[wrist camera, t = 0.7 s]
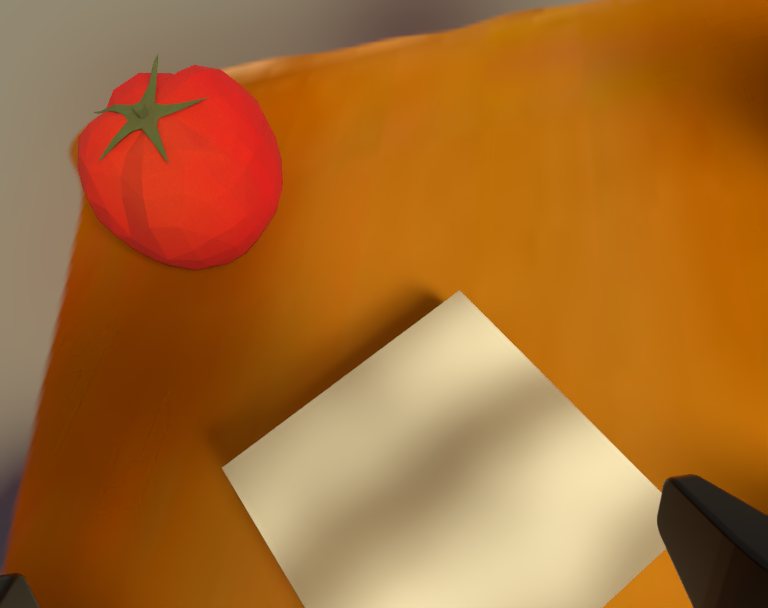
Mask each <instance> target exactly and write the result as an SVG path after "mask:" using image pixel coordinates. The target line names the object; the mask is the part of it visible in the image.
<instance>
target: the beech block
mask: <svg viewBox="0 0 768 608" xmlns="http://www.w3.org/2000/svg"><path fill="white" fill-rule="evenodd" d="M222 469H223V471H224V473H225V474H226V476H227V478H228V479H229V481H230V483H231V484H232V486H233V488H234V489H235V491H236V493H237V494H238V496H239V498H240V500H241V501H242V503H243V505H244V506H245V508H246V510H247V511H248V513H249V515H250V516H251V518H252V520H253V521H254V523H255V525H256V526H257V528H258V530H259V531H260V533H261V535H262V536H263V538H264V540H265V541H266V543H267V545H268V547H269V548H270V550H271V552H272V553H273V555H274V557H275V558H276V560H277V562H278V563H279V565H280V567H281V568H282V570H283V572H284V573H285V575H286V577H287V578H288V580H289V582H290V583H291V585H292V587H293V588H294V590H295V592H296V594H297V595H298V597H299V599H300V600H301V602H302V604H303V605H304V607H305V608H602V607H603V606H604V605H605V604H607V603H608V602H609V601H610V600H611V599H612V598H613V597H614V596H615V595H616V594H617V593H618V592H620V591H621V590H622V589H623V588H624V587H625V586H626V585H627V584H628V583H629V582H630V581H631V580H632V579H634V578H635V577H636V576H637V575H638V574H639V573H640V572H641V571H642V570H643V569H644V568H645V567H646V566H648V565H649V564H650V563H651V562H652V561H653V560H654V559H655V558H656V557H657V556H658V555H659V554H660V553H662V552H663V551H664V550H665V549H666V547H665V545H664V543H663V540H662V538H661V536H660V534H659V530H658V526H657V514H658V509H659V504H660V499H661V494H662V493H661V492H660V491H659V490H658V489H657V488H656V487H655V486H654V485H653V484H652V483H651V482H650V481H649V480H648V479H647V478H646V477H645V476H644V475H643V474H642V473H641V472H640V471H639V470H638V469H637V468H636V467H635V466H634V465H633V464H632V463H631V462H630V461H629V460H628V459H627V458H626V457H625V456H624V455H623V454H622V453H621V452H620V451H619V450H618V449H617V448H616V447H615V446H614V445H613V444H612V443H611V442H610V441H609V440H608V439H607V438H606V437H605V436H604V435H603V434H602V433H601V432H600V431H599V430H598V429H597V428H596V427H595V426H594V425H593V424H592V423H591V422H590V421H589V420H588V419H587V418H586V417H585V416H584V415H583V414H582V413H581V412H580V411H579V410H578V409H577V408H576V407H575V406H574V405H573V404H572V403H571V402H570V401H569V400H568V399H567V398H566V397H565V396H564V395H563V394H562V393H561V392H560V391H559V390H558V389H557V388H556V387H555V386H554V385H553V384H552V383H551V382H550V381H549V380H548V379H547V378H546V377H545V376H544V375H543V374H542V373H541V372H540V371H539V370H538V369H537V368H536V367H535V366H534V365H533V364H532V363H531V362H530V361H529V360H528V359H527V358H526V357H525V356H524V355H523V354H522V353H521V352H520V351H519V349H518V348H517V347H516V346H515V345H514V344H513V343H512V342H511V341H510V340H509V339H508V338H507V337H506V336H505V335H504V334H503V333H502V332H501V331H500V330H499V329H498V328H497V327H496V326H495V325H494V324H493V323H492V322H491V321H490V320H489V319H488V318H487V317H486V316H485V315H484V314H483V313H482V312H481V311H480V310H479V309H478V308H477V307H476V306H475V305H474V304H473V303H472V302H471V301H470V300H469V299H468V298H467V297H466V296H465V295H464V294H463V293H462V292H461V291H460V290H459V291H458V292H457V293H455V294H454V295H453V296H451V297H450V298H448V299H447V300H446V301H444V302H443V303H442V304H440V305H439V306H438V307H436V308H435V309H434V310H432V311H431V312H430V313H428V314H427V315H426V316H424V317H423V318H422V319H420V320H419V321H418V322H416V323H415V324H414V325H412V326H411V327H410V328H408V329H407V330H406V331H404V332H403V333H402V334H400V335H399V336H398V337H396V338H395V339H394V340H392V341H391V342H390V343H388V344H387V345H386V346H384V347H383V348H381V349H380V350H379V351H377V352H376V353H375V354H373V355H372V356H371V357H369V358H368V359H367V360H365V361H364V362H363V363H361V364H360V365H359V366H357V367H356V368H355V369H353V370H352V371H351V372H349V373H348V374H347V375H345V376H344V377H343V378H341V379H340V380H339V381H337V382H336V383H335V384H333V385H332V386H331V387H329V388H328V389H327V390H325V391H324V392H323V393H321V394H320V395H319V396H317V397H316V398H315V399H313V400H312V401H310V402H309V403H308V404H306V405H305V406H304V407H302V408H301V409H300V410H298V411H297V412H296V413H294V414H293V415H292V416H290V417H289V418H288V419H286V420H285V421H284V422H282V423H281V424H280V425H278V426H277V427H276V428H274V429H273V430H272V431H270V432H269V433H268V434H266V435H265V436H264V437H262V438H261V439H260V440H258V441H257V442H256V443H254V444H253V445H252V446H250V447H249V448H248V449H246V450H245V451H243V452H242V453H241V454H239V455H238V456H237V457H235V458H234V459H233V460H231V461H230V462H229V463H227V464H226V465H225V466H223V467H222Z"/></svg>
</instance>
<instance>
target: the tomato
mask: <svg viewBox="0 0 768 608" xmlns="http://www.w3.org/2000/svg"><path fill="white" fill-rule="evenodd" d="M157 64H158V55H157V57H156V59H155V61H154V65H153V68H152V72H151V73H138V74H137V75H135V76H134V77H132V78H131V79H129V80H128V81H126V82H125V83H123V84H122V85H120V86H119V87H117V88H116V89H115V90H113V93H112V96H111V98H110V101H109V103H108V106H107V108H106V109H104V110H102V111H100V112H95V113H98V114H99V113H103V114H101V115H100V116H99V117H97V118H96V119H94V120H93V121H92V122H90V123H89V124H88V126H87V127H86V128H85V130H84V131H83V132H82V134H81V135H80V136H79V145H78V171H79V175H80V179H81V183H82V187H83V189H84V191H85V194H86V196H87V199H88V201H89V203H90V205H91V207H92V208H93V210H94V212H95V214H96V216H97V218H98V220H99V221H100V222H101V223H102V224H104V225H105V226H106V227H107V228H108V229H109V230H110V231H111V232H113V233H114V234H115V235H116V236H117V237H119V238H120V239H121V240H123V241H124V242H125V243H127V244H128V245H129V246H131V247H132V248H133V249H135V250H137V251H139V252H141V253H143V254H145V255H147V256H149V257H151V258H152V259H154V260H156V261H158V262H160V263H164V264H167V265H171V266H175V267H181V268H186V269H192V270H198V269H203V268H208V267H213V266H218V265H223V264H227V263H229V262H231V261H233V260H235V259H236V258H238V257H240V256H242V255H244V254H245V253H246V252H247V251H248V250H249V249H250V248H251V246H252V245H253V244H254V243H255V242H256V241H257V240H258V238H259V237H260V235H261V234H262V232H263V231H264V229H265V228H266V226H267V225H268V223H269V222H270V221H271V219H272V218H273V216H274V215H275V213H276V210H277V206H278V202H279V198H280V194H281V190H282V184H283V180H282V160H281V156H280V152H279V149H278V145H277V141H276V138H275V135H274V133H273V131H272V130H271V128H270V126H269V124H268V122H267V120H266V118H265V116H264V114H263V112H262V110H261V108H260V106H259V104H258V102H257V100H256V99H255V98H253V97H252V96H251V95H250V94H249V93H248V92H247V91H246V90H245V89H244V88H243V87H242V86H241V85H240V84H238V83H237V82H236V81H235V80H233V79H232V78H231V77H229V76H228V75H227V74H226V73H224V72H223V71H222V70H220V69H214V68H208V67H203V66H197V65H194V66H191V67H189V68H186V69H184V70H181V71H179V72H177V73H176V74H174V75H173V74H171V73H157Z"/></svg>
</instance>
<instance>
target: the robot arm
mask: <svg viewBox="0 0 768 608" xmlns="http://www.w3.org/2000/svg"><path fill="white" fill-rule="evenodd" d="M657 526H658V530H659V534H660V536H661V538H662V540H663V543H664V545H665V547H666V549H667V551H668V553H669V556H670V558H671V560H672V562H673V564H674V567H675V569H676V571H677V573H678V575H679V577H680V580H681V582H682V584H683V586H684V588H685V590H686V593H687V595H688V597H689V599H690V601H691V604H692V606H693V608H768V516H767V515H766V514H764V513H762V512H761V511H759V510H757V509H755V508H754V507H752V506H750V505H748V504H747V503H745V502H743V501H741V500H740V499H738V498H736V497H734V496H733V495H731V494H729V493H727V492H726V491H724V490H722V489H720V488H719V487H717V486H715V485H714V484H712V483H710V482H708V481H707V480H705V479H703V478H701V477H699V476H697V475H693V474H689V475H682V476H675V477H670V478H668V479H667V480H666V481H665V482H664V485H663V489H662V494H661V499H660V504H659V509H658V514H657ZM0 608H40V607H39V605H38V603H37V601H36V599H35V597H34V595H33V593H32V591H31V589H30V587H29V585H28V583H27V580H26V579H25V577H24V576H22V575H21V574H19V573H13V574H6V575H0Z"/></svg>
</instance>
